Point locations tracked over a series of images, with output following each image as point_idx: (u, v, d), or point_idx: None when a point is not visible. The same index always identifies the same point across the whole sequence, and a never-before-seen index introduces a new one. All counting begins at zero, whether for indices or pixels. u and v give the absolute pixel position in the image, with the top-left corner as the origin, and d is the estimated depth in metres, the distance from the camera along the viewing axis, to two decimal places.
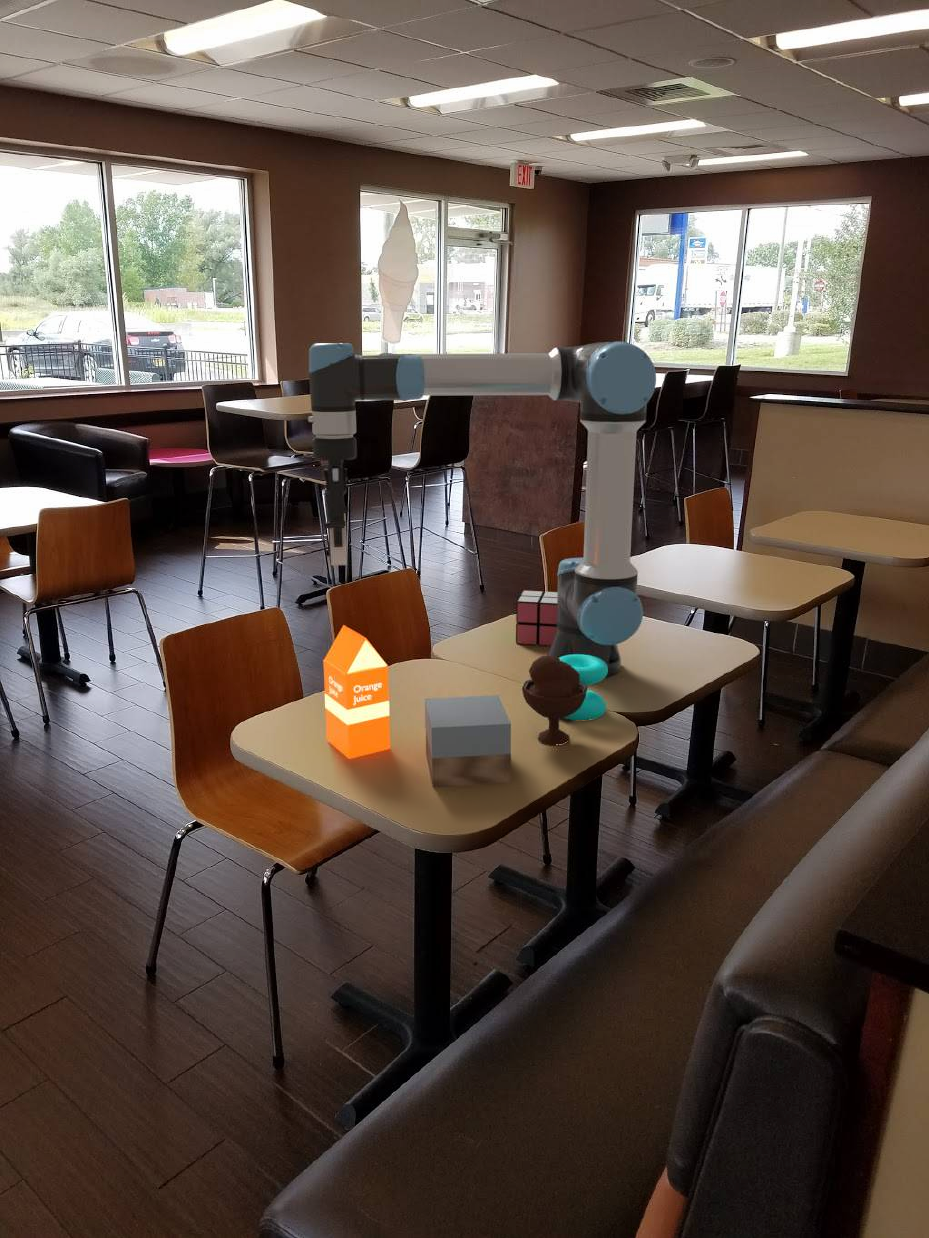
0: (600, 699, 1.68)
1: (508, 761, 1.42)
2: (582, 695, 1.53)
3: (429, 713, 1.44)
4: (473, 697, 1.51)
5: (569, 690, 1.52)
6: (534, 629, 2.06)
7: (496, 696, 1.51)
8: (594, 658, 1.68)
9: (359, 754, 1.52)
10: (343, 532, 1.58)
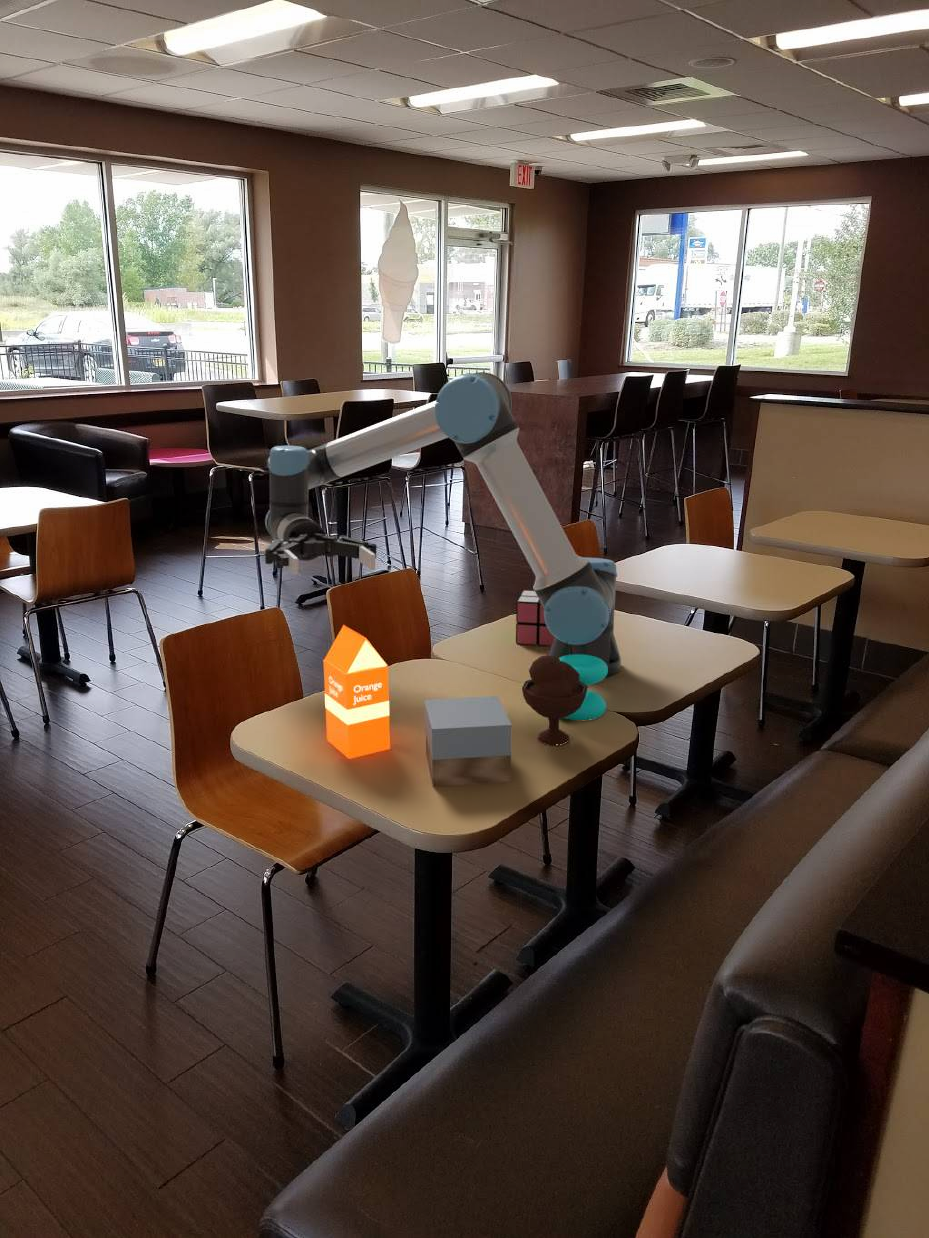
0: (600, 699, 1.68)
1: (508, 762, 1.42)
2: (582, 695, 1.53)
3: (429, 714, 1.44)
4: (473, 698, 1.51)
5: (569, 690, 1.52)
6: (534, 629, 2.06)
7: (495, 697, 1.51)
8: (594, 658, 1.68)
9: (359, 754, 1.52)
10: (285, 553, 1.60)
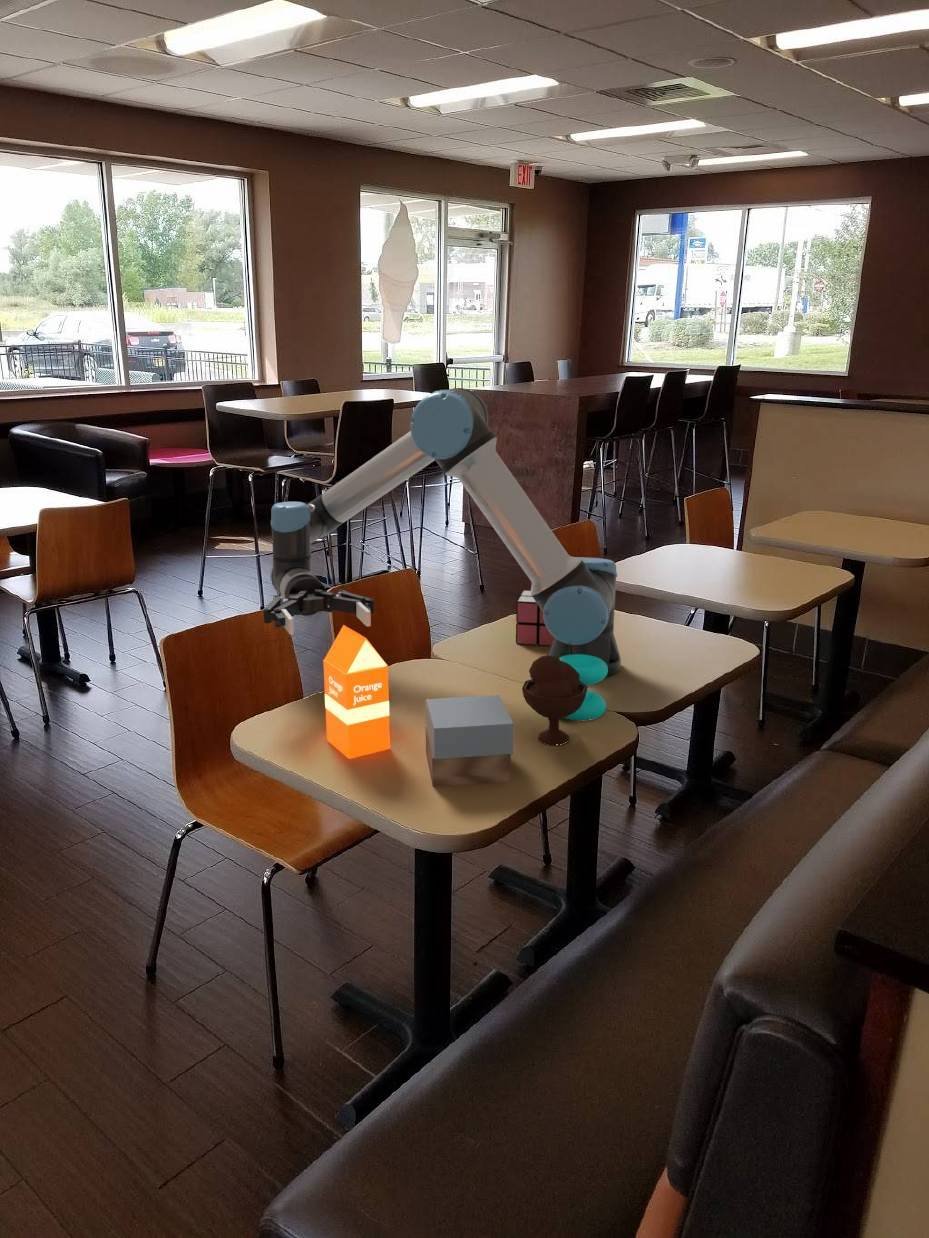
0: (600, 699, 1.68)
1: (508, 761, 1.42)
2: (582, 695, 1.53)
3: (431, 714, 1.44)
4: (474, 697, 1.51)
5: (569, 690, 1.52)
6: (534, 629, 2.06)
7: (497, 696, 1.51)
8: (594, 658, 1.68)
9: (359, 754, 1.52)
10: (282, 612, 1.63)
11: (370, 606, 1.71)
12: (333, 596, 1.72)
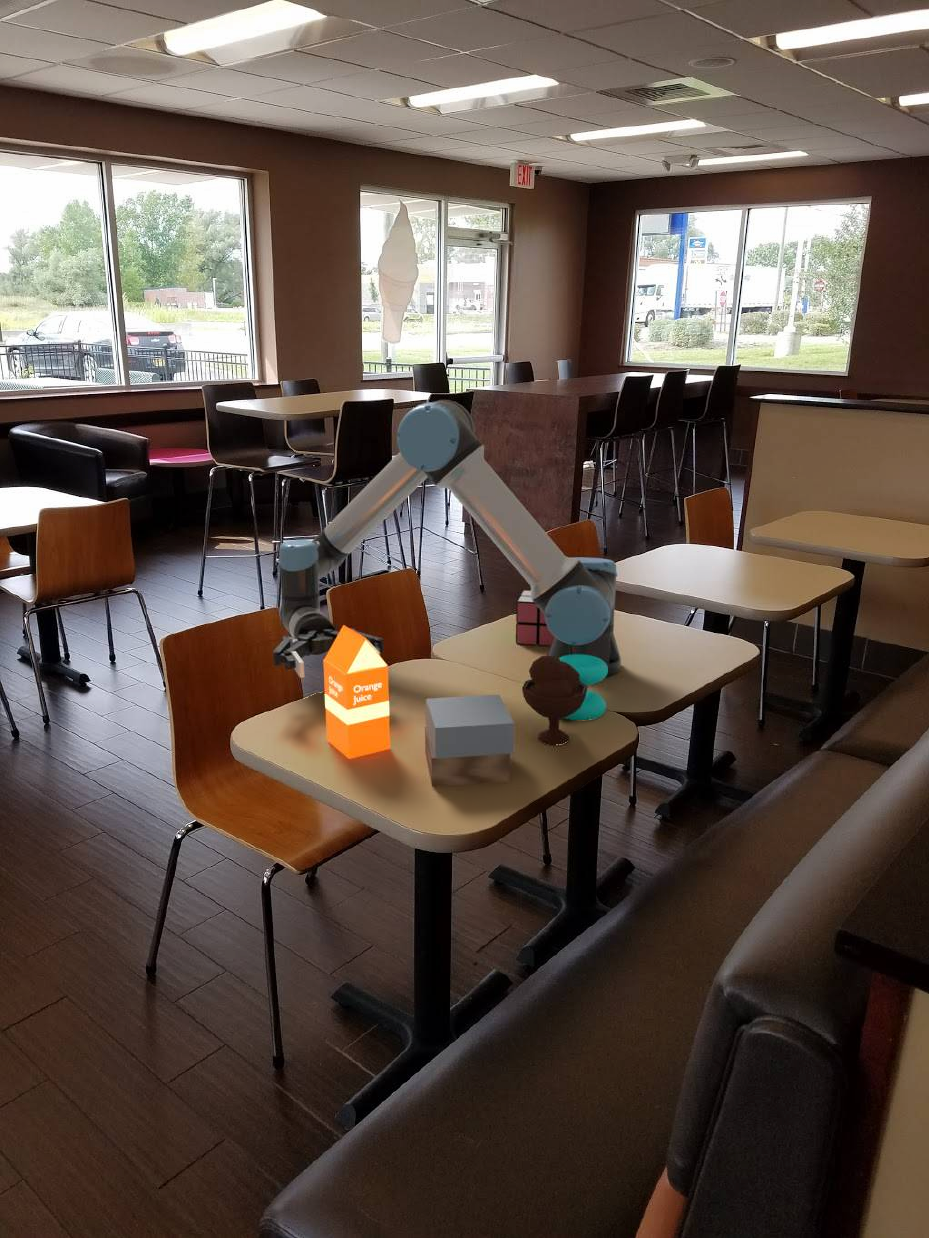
0: (600, 699, 1.68)
1: (507, 761, 1.42)
2: (582, 695, 1.53)
3: (431, 713, 1.44)
4: (474, 696, 1.51)
5: (569, 690, 1.52)
6: (534, 629, 2.06)
7: (497, 695, 1.51)
8: (594, 658, 1.68)
9: (359, 754, 1.52)
10: (292, 654, 1.64)
11: (379, 646, 1.71)
12: None
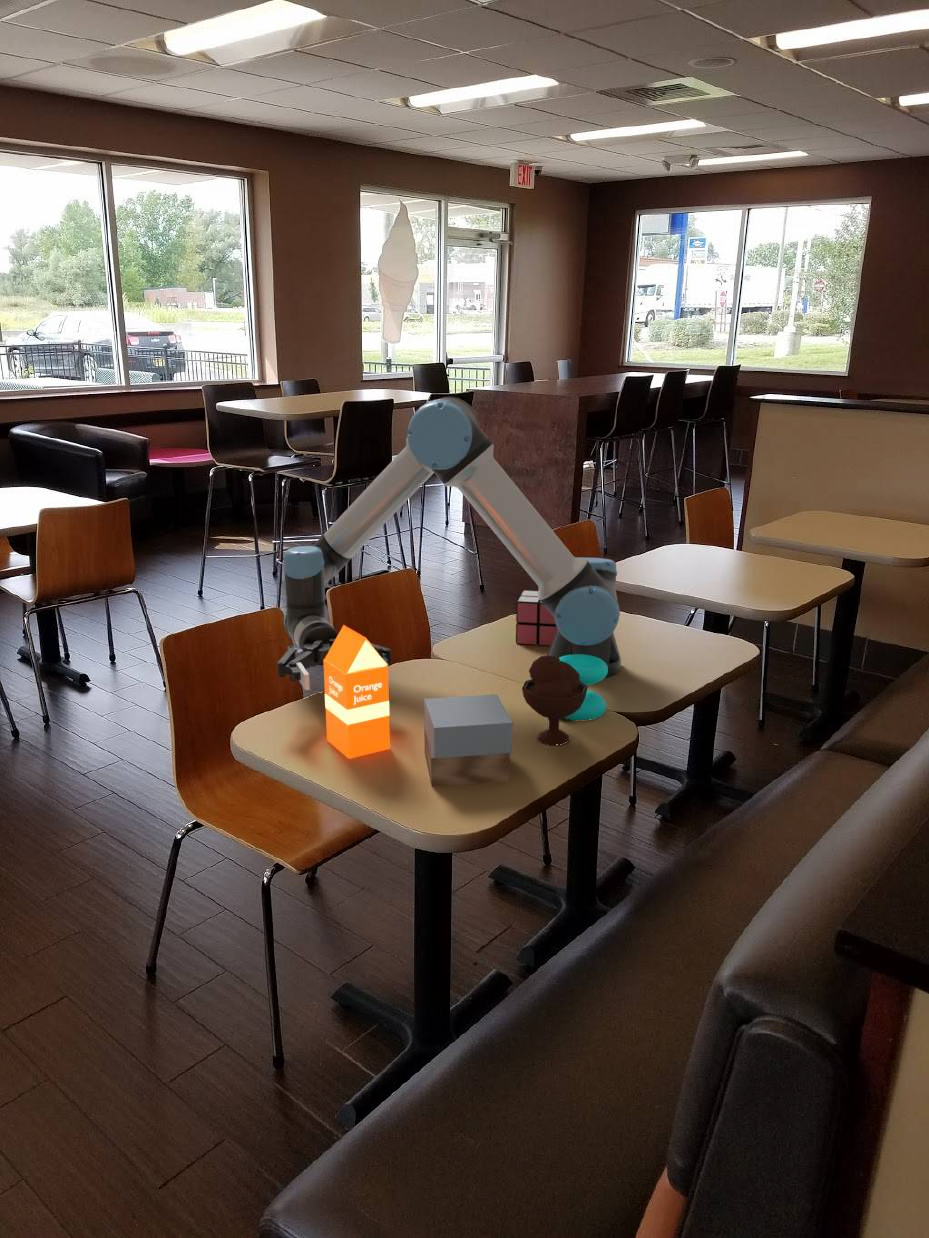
0: (600, 699, 1.68)
1: (507, 761, 1.42)
2: (582, 695, 1.53)
3: (430, 713, 1.44)
4: (472, 696, 1.51)
5: (569, 690, 1.52)
6: (534, 629, 2.06)
7: (495, 695, 1.51)
8: (594, 658, 1.68)
9: (359, 754, 1.52)
10: (297, 666, 1.58)
11: (387, 656, 1.66)
12: None
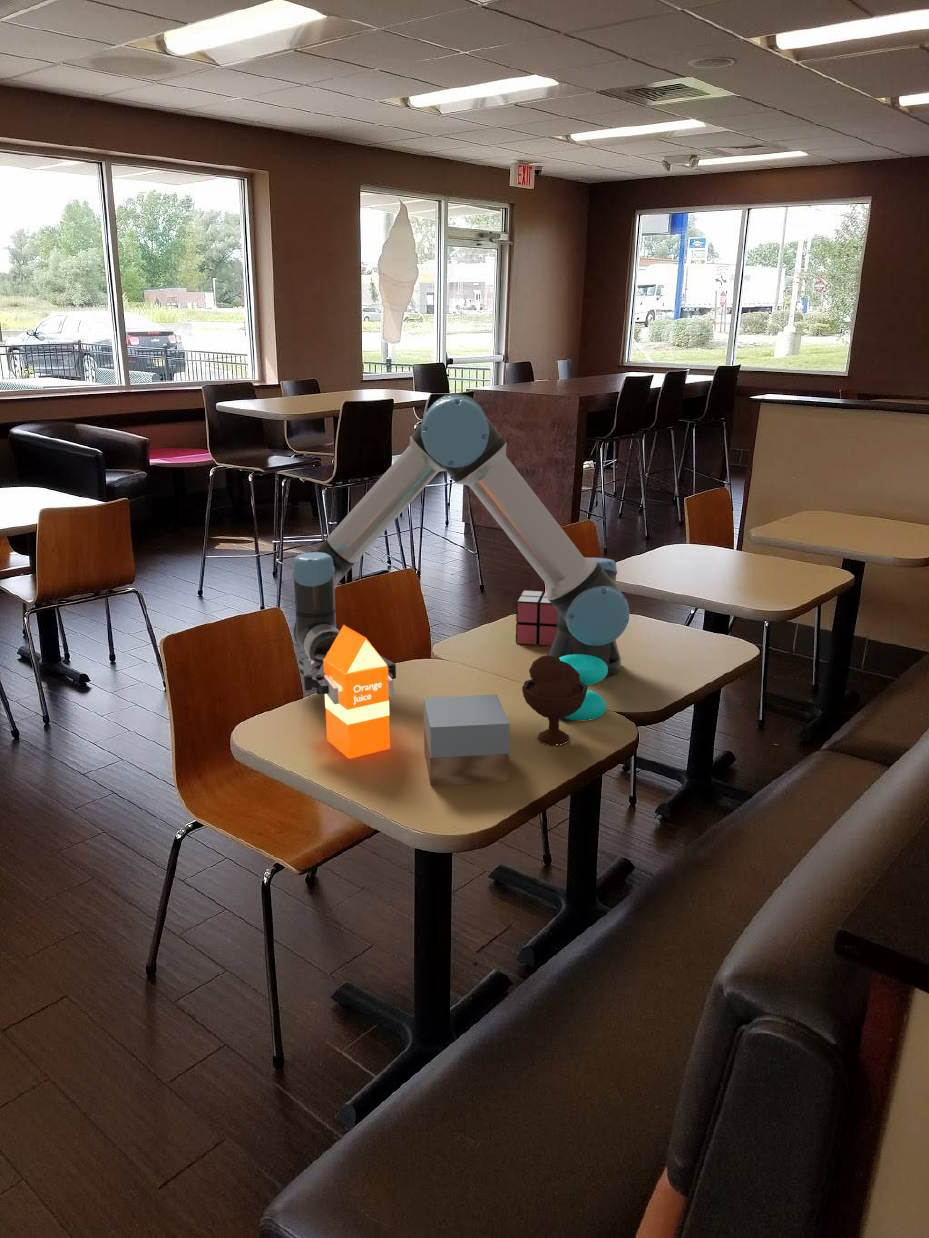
0: (600, 699, 1.68)
1: (506, 761, 1.42)
2: (582, 695, 1.53)
3: (428, 712, 1.44)
4: (472, 696, 1.51)
5: (570, 690, 1.52)
6: (534, 629, 2.06)
7: (495, 695, 1.51)
8: (594, 658, 1.68)
9: (359, 754, 1.52)
10: (324, 679, 1.52)
11: (391, 671, 1.58)
12: None
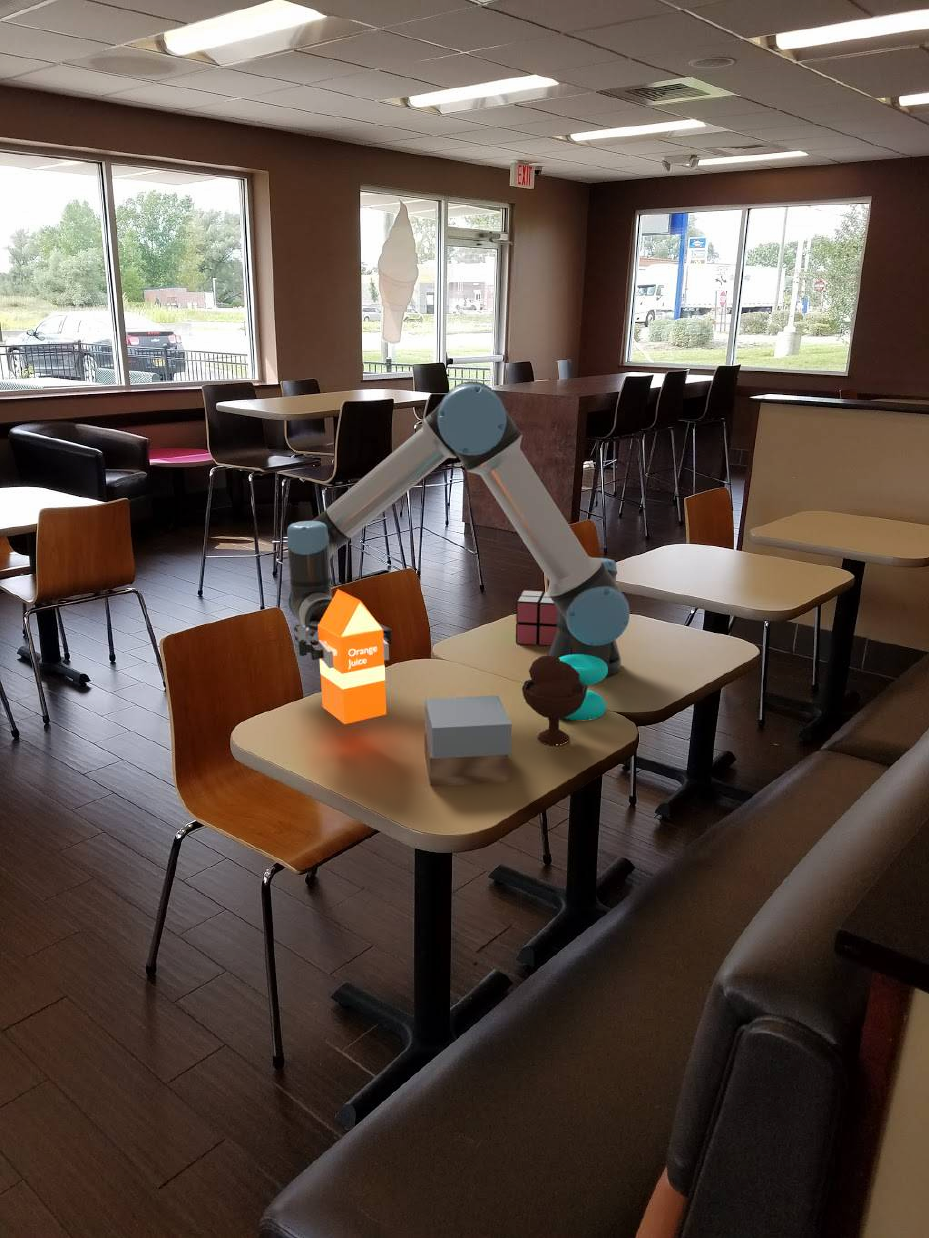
0: (600, 699, 1.68)
1: (506, 761, 1.42)
2: (582, 695, 1.53)
3: (429, 713, 1.44)
4: (473, 697, 1.51)
5: (569, 690, 1.52)
6: (534, 629, 2.06)
7: (496, 696, 1.51)
8: (594, 658, 1.68)
9: (355, 719, 1.50)
10: (319, 643, 1.50)
11: (386, 637, 1.56)
12: None
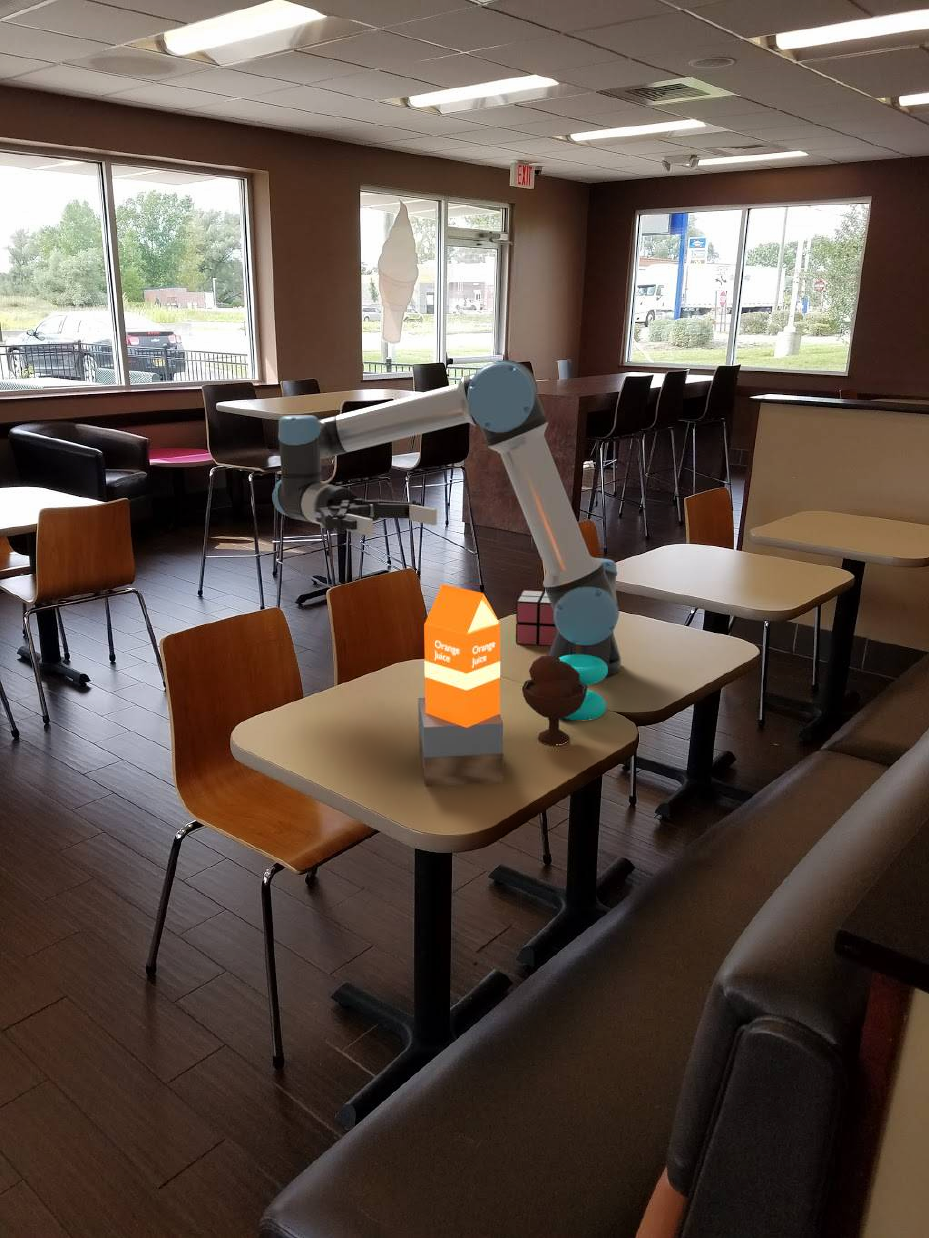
0: (600, 699, 1.68)
1: (501, 761, 1.42)
2: (582, 695, 1.53)
3: (422, 712, 1.44)
4: None
5: (569, 690, 1.52)
6: (534, 629, 2.06)
7: None
8: (594, 658, 1.68)
9: (475, 721, 1.40)
10: (348, 517, 1.54)
11: None
12: (378, 503, 1.65)
